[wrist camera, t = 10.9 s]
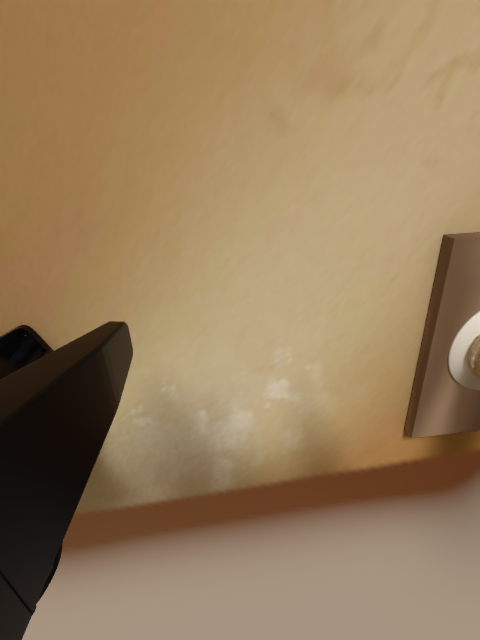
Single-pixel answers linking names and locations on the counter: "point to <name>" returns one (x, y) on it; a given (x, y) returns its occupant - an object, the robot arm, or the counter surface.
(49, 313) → the counter surface
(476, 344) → the sprinkles bottle
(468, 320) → the corner arena
